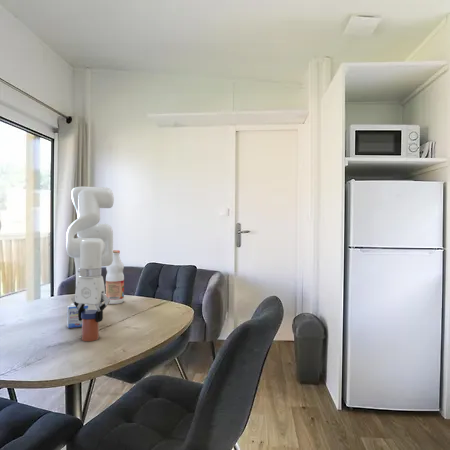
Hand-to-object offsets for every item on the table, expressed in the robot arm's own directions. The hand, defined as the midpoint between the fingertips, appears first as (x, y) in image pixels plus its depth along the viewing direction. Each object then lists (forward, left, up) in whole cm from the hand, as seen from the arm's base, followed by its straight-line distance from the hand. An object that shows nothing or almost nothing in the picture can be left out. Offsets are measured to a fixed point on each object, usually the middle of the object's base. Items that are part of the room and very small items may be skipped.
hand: (90, 320), depth 138 cm
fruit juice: (-24, +57, -7) cm, 62 cm away
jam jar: (0, 0, -7) cm, 7 cm away
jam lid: (0, 0, +3) cm, 3 cm away
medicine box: (-15, +13, -7) cm, 21 cm away
